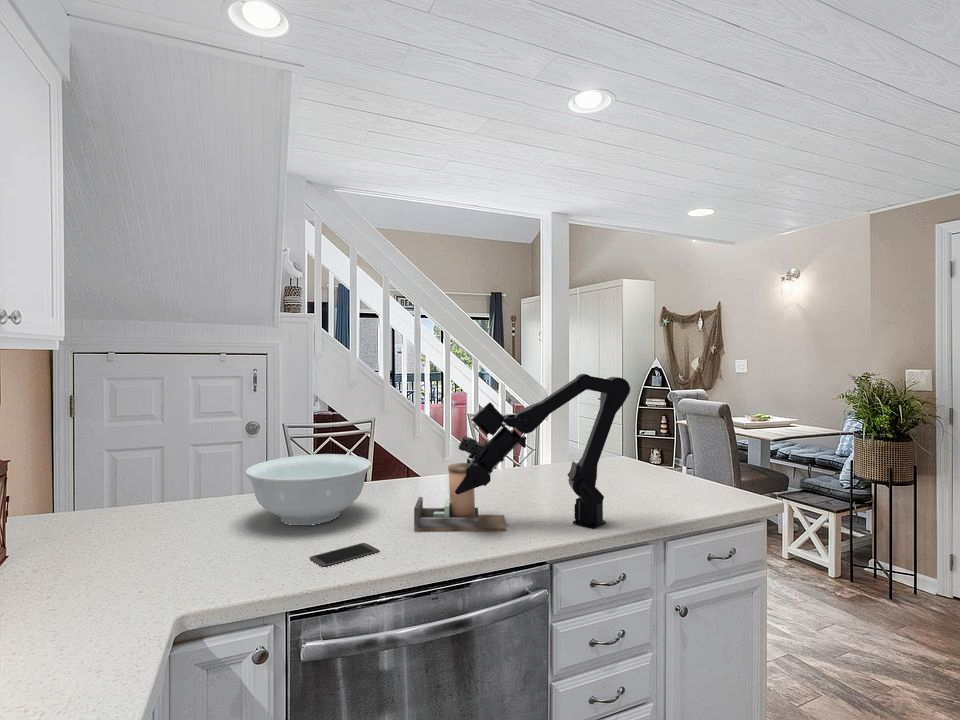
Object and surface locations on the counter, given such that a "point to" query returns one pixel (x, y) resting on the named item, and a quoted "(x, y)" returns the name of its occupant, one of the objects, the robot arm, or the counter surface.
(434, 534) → the counter surface
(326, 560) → the cell phone
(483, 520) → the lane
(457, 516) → the jar
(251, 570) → the counter surface
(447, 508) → the block
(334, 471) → the bowl
